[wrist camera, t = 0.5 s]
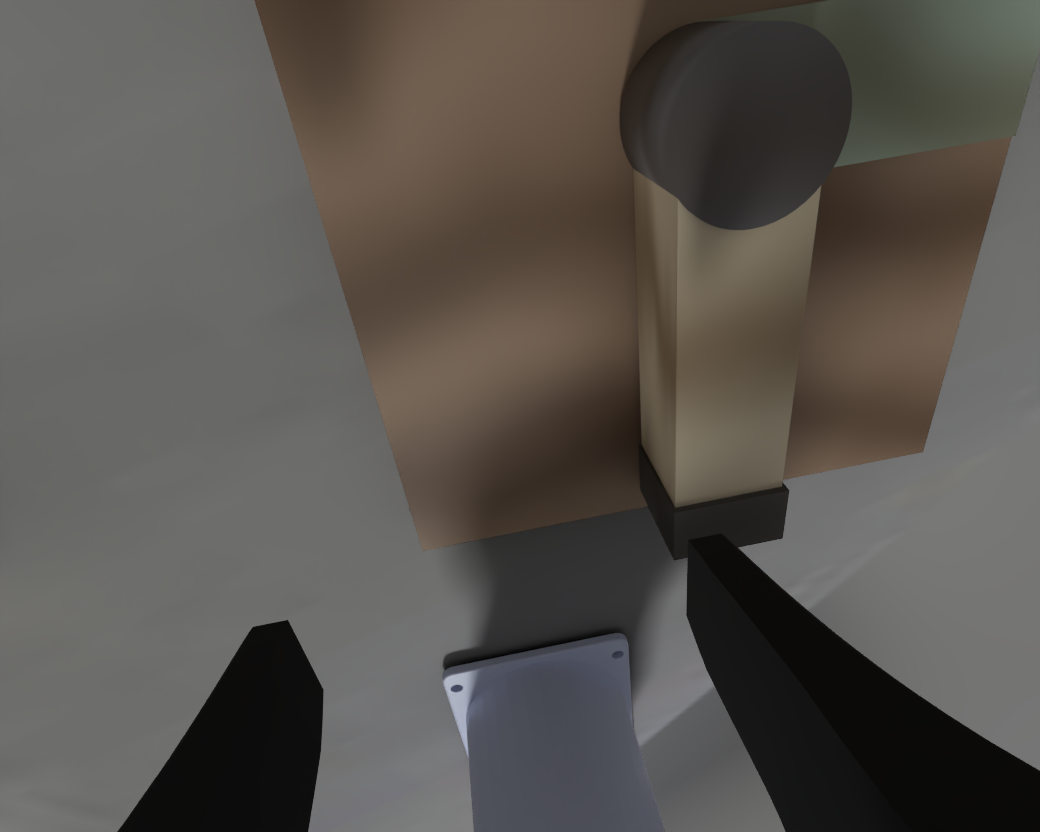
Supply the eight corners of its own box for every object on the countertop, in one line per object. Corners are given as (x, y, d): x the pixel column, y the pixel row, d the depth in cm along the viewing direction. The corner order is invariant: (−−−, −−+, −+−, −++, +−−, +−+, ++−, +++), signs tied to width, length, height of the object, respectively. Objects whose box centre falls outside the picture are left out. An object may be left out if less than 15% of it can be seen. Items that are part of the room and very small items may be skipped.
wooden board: (894, 428, 23) (924, 453, 21) (422, 520, 22) (422, 553, 21) (1068, -280, 13) (1143, -315, 12) (221, -160, 12) (197, -183, 11)
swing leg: (615, 35, 13) (666, 37, 11) (777, 8, 13) (867, 5, 11) (634, 490, 20) (667, 561, 18) (740, 469, 20) (789, 537, 18)
